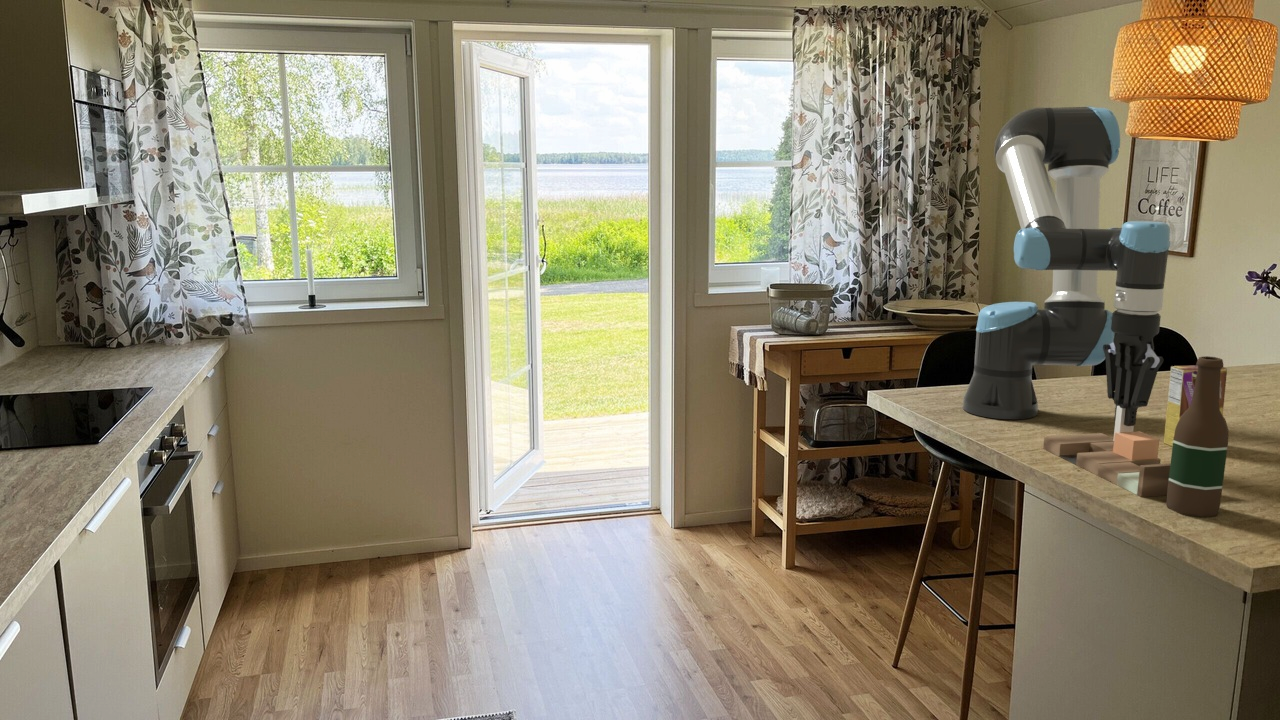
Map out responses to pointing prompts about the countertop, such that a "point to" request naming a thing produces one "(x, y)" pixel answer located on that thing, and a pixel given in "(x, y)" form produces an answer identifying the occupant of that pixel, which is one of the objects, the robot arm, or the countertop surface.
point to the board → (1111, 463)
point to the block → (1136, 445)
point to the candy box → (1184, 396)
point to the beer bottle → (1200, 447)
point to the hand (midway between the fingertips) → (1122, 441)
